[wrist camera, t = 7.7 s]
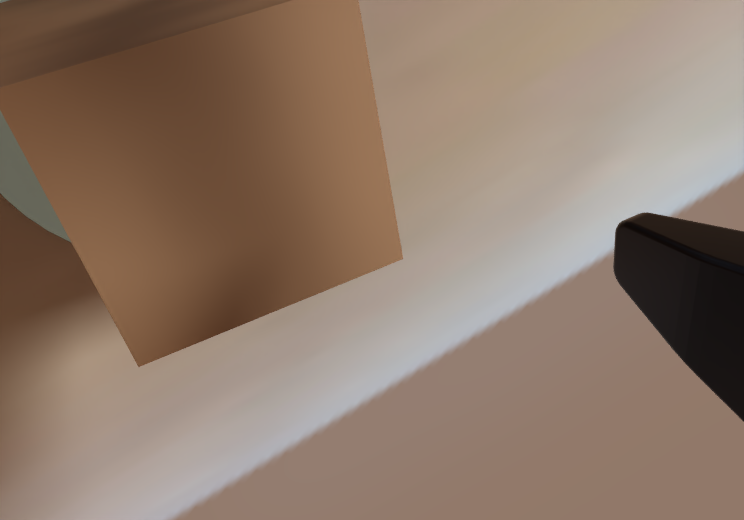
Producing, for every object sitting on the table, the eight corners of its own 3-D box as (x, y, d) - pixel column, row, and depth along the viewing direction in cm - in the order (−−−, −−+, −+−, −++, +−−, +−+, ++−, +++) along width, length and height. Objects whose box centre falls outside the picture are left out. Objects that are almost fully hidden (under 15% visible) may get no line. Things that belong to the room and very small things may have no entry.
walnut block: (258, -68, 16) (354, -19, 12) (313, 154, 20) (403, 258, 15) (-2, 3, 15) (-11, 90, 10) (108, 227, 18) (138, 366, 14)
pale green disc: (309, -186, 16) (315, -187, 15) (378, 183, 22) (384, 189, 21) (-161, -76, 13) (-165, -73, 13) (63, 303, 19) (63, 311, 19)
